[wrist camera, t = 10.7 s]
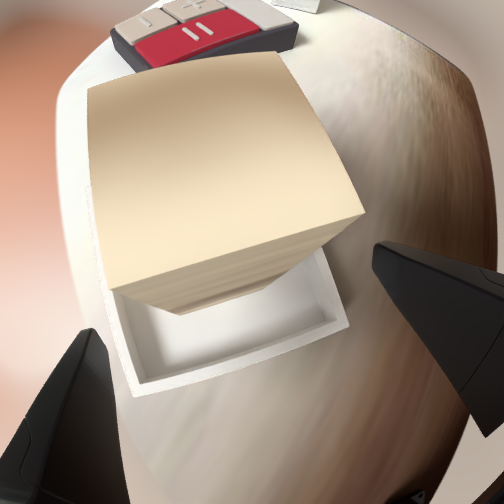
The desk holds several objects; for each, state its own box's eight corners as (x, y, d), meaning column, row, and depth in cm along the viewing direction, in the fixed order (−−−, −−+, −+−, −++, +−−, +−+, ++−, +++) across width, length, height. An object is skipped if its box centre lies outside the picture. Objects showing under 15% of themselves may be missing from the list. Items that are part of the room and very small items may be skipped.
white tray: (332, 327, 18) (349, 326, 15) (143, 388, 15) (133, 397, 13) (269, 158, 20) (276, 138, 18) (98, 203, 18) (86, 186, 15)
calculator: (106, 24, 18) (234, -19, 21) (115, 54, 22) (232, 8, 26) (153, 71, 17) (303, 19, 20) (161, 107, 21) (294, 50, 24)
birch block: (262, 289, 17) (365, 212, 6) (179, 315, 16) (108, 289, 4) (235, 212, 18) (276, 51, 6) (157, 234, 17) (87, 89, 5)
